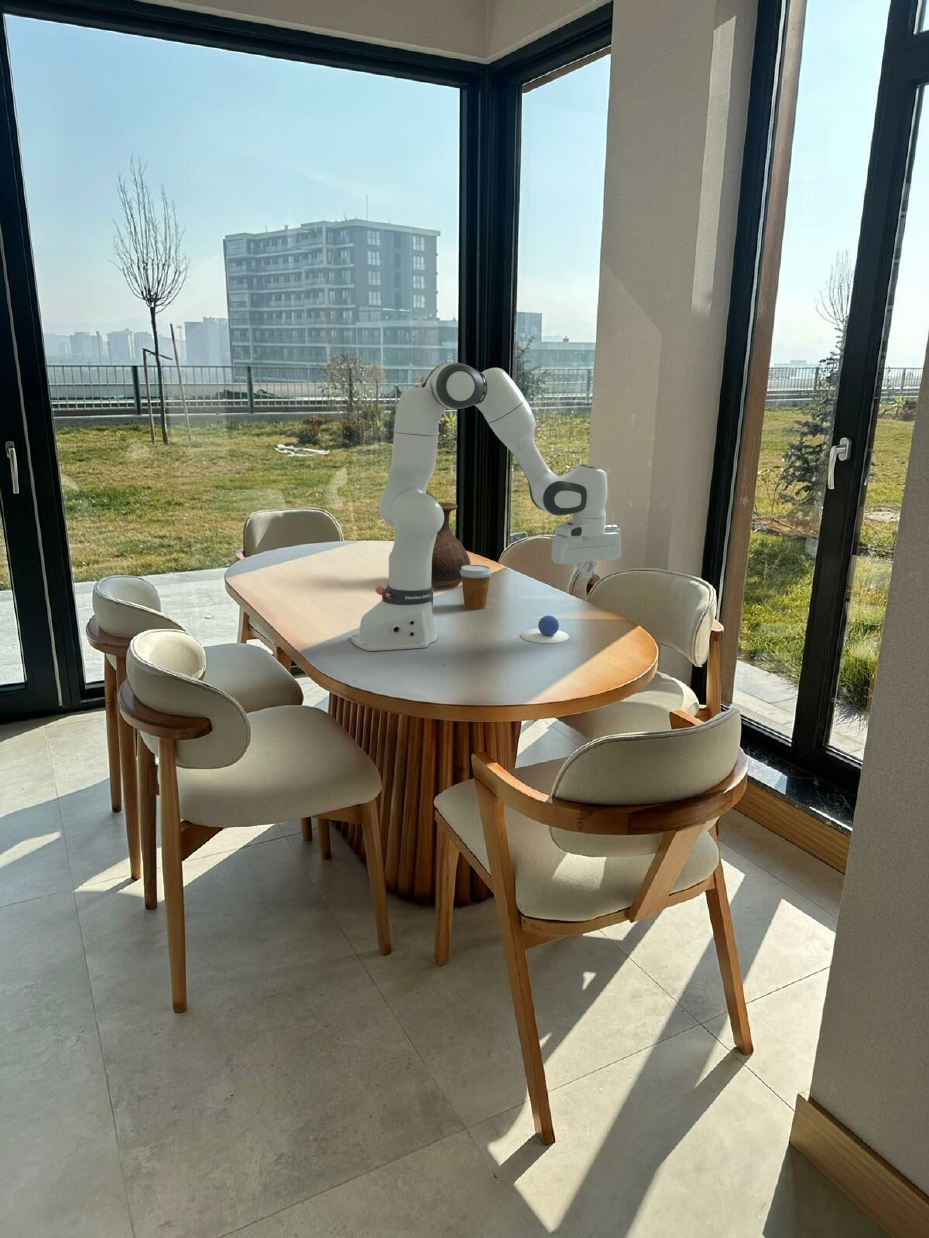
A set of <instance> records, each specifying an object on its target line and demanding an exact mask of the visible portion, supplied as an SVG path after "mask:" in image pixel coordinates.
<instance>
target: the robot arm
mask: <svg viewBox="0 0 929 1238" xmlns="http://www.w3.org/2000/svg"><path fill="white" fill-rule="evenodd" d="M472 406H475V407H476V408H477V409H478V410H479V411H480V412H481V413H482V415H483V417H484V419H485V420H486V422H487V424H488V425H489V427H490V429H492V432H494V434H495V436H497V438H498V439H499V440H500V441H501V442H502V444H504V446H505V447H507V449H508V450H509V451H510V452H511V454H512V455H513V457H514V459H515V460H516V462H517V463H518V465H519V467H520V468H521V471H522V472H523V474H524V475H525V478H526V481H527V483H528V491H529V496H530V500H531V502H532V504H534V506H535V507H536V508H537V509H540V510H542V511H545V512H547V513H549V514H551V515H552V516H556V517H560V516H566V515H572V517H571V518H570V519H568V520H566V521H564V522H562V523H559V524H556V526H555V527H554V532H555V534H556V535H555V536H554V538H553V539H552V540H553V541H552V546H551V560H552V562H553V563H555V564H557V565H570V564H575V565H576V567H577V569H578V572H579V575H578V576H579V578H581V579H591V578H592V577H593V572H594V570H595V569H596V566H597V562H601V561H602V562H603V561H612V560H613V561H614V560H619V559H620V557H621V556H622V541H621V535H622V530H621V528H620V527H619V526H617V525H616V524H612V525H606V522H607V513H606V504H607V501H608V476H607V472H606V471H605V470H604V469H603V468H601V467H599V466H594V465H591V464H578V465H577V466H576V467H575V468H574V469H572V470H571V471H569V472H567V473H564V474H563V475H558V474H556V473H555V472H553V470H551V469H550V468H549V467H548V465H547V463H546V462H545V460H544V458H543V456H542V454H541V452H540V451H539V449H538V447H537V445H536V443H535V438H534V437H535V435H534V433H535V431H536V428H537V427H536V426H537V422H536V418H535V416H534V414H533V410H532V408H531V407H530V405H529V403H528V400H527V399H526V398H525V395H524V394H523V392H522V391H521V390H520V388H519V387H518V385H517V384H516V383H515V381H514V380H513V379H512V378H511V376H510V375H509V374H508V373H507V372H506V371H505V370H504V369H503V368H499V367H491V368H488V369H485V370H483V371H481V372H480V371H479V370H477V369H475V368H473V367H471V366H470V365H467V364H465V363H462V362H457V361H448V362H445V363H442V364H440V365H437V366H436V367H435V368H434V369H433V370H432V371H431V372H430V373H429V374H428V376H427V378H426V380H425V381H424V383H423V384H422V386H421V387H418V386H417V387H415V386H414V387H410V388H408V389H405V390H404V391H402V393H401V395H400V396H399V399H398V403H397V407H396V413H395V417H394V424H393V439H392V440H393V441H392V449H391V450H392V452H391V453H392V454H391V463H390V469H389V471H388V472H389V473H388V477H387V479H386V484H385V489H384V492H383V494H381V496H380V498H379V500H378V501H379V502H378V511H379V514H380V516H381V517H382V519H383V520H384V522H385V523H386V524H387V525H388V526H390V527H391V528H394V530H395V538H394V541H393V542H394V543H393V547H392V549H391V551H390V553H389V554H388V585H386V587H385V588H384V587H382V586H380V585H379V586H377V587H376V588H375V593H376V594H378V595H380V596H381V600H380V601H379V602H378V603H377V604H376V605H374V607H372V608H371V609H370V610H368V611H367V612H366V613H364V614H363V615H362V617H361V620H360V625H359V629H358V632H354V633H351V637H350V641H351V643H352V644H354V645H355V646H356V647H358V648H359V649H362V650H365V651H369V652H370V651H371V652H375V651H376V652H377V651H378V652H379V651H393V650H394V651H395V650H408V649H409V650H410V649H424V648H427V647H428V646H429V645H430V644H432V643H433V642H435V641H436V640H437V639H438V635H437V631H436V628H435V622H434V616H433V615H434V614H433V606H434V588H433V586H432V585H431V576H432V554H433V549H434V544H435V540H436V536H437V533H438V531H439V530H440V529H441V527H442V525H443V522H444V512H443V509H442V507H441V506H440V505H439V503H438V502H439V501H436V500H437V499H436V498H435V497H434V498H435V499H436V500H435V499H434V498H433V497H431V496H430V495H427V494H426V490H427V487H428V484H429V482H430V478H431V476H432V474H433V472H434V471H435V469H436V466H437V456H438V455H437V454H438V440H439V427H440V426H439V423H440V420H441V417H442V415H443V413H444V411H446V410H447V409H449V410H461V409H466V408H469V407H472ZM586 563H587V564H588V567H587V568H586V569H585V568H584V567H585V566H586Z"/></svg>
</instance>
